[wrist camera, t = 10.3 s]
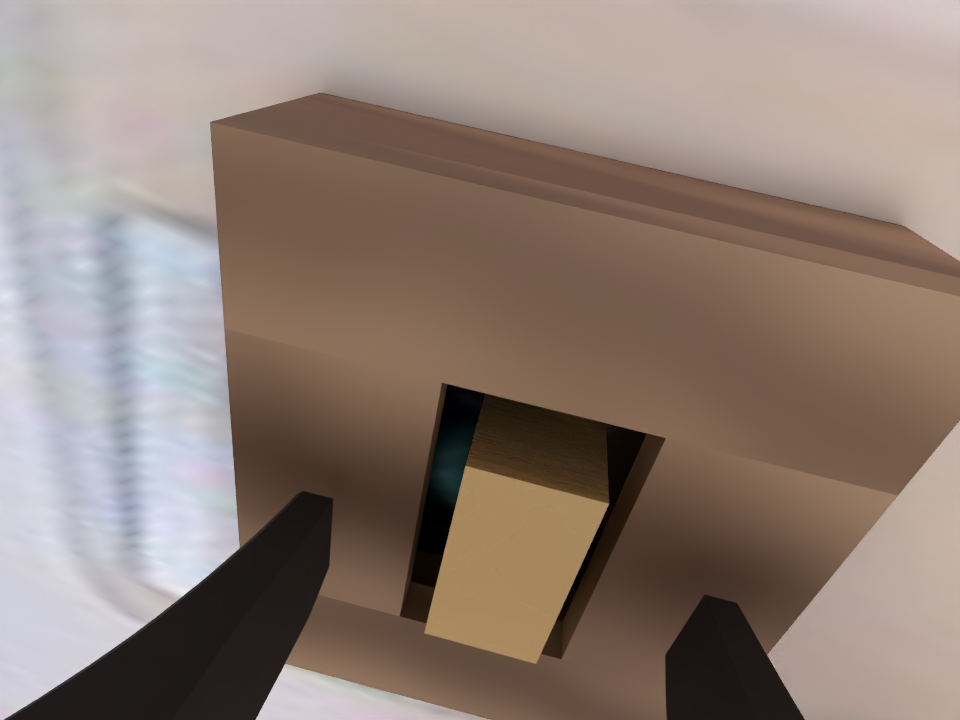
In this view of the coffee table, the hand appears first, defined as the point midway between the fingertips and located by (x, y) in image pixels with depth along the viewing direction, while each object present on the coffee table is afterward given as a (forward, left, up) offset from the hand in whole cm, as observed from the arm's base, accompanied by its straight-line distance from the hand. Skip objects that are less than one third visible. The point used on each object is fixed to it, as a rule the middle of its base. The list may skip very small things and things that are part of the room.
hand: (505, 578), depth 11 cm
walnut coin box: (0, 0, -5) cm, 5 cm away
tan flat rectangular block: (0, 0, -5) cm, 5 cm away
